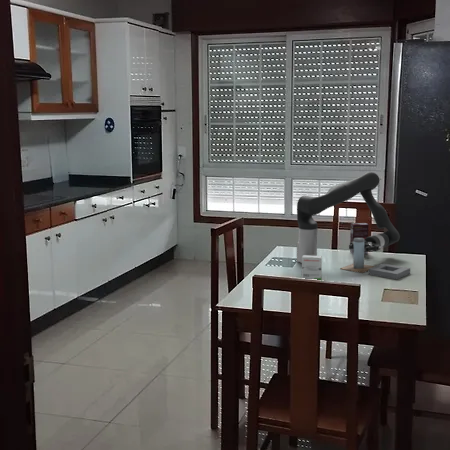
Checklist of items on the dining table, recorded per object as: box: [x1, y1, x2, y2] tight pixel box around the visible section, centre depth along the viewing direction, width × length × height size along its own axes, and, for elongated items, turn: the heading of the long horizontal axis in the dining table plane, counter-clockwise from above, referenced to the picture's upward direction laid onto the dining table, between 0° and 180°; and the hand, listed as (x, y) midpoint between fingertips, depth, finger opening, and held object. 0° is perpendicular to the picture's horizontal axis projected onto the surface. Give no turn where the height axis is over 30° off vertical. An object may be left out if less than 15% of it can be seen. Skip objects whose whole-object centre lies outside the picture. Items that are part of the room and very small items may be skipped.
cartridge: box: [352, 238, 365, 269], centre depth 300 cm, size 5×5×14 cm
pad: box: [339, 263, 375, 274], centre depth 301 cm, size 12×14×1 cm
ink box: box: [301, 255, 323, 281], centre depth 277 cm, size 9×5×12 cm, turn 78°
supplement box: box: [349, 222, 370, 255], centre depth 332 cm, size 9×5×16 cm, turn 98°
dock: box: [368, 263, 411, 280], centre depth 291 cm, size 14×14×2 cm
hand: (357, 248), depth 298 cm, fingers open, 8 cm apart
